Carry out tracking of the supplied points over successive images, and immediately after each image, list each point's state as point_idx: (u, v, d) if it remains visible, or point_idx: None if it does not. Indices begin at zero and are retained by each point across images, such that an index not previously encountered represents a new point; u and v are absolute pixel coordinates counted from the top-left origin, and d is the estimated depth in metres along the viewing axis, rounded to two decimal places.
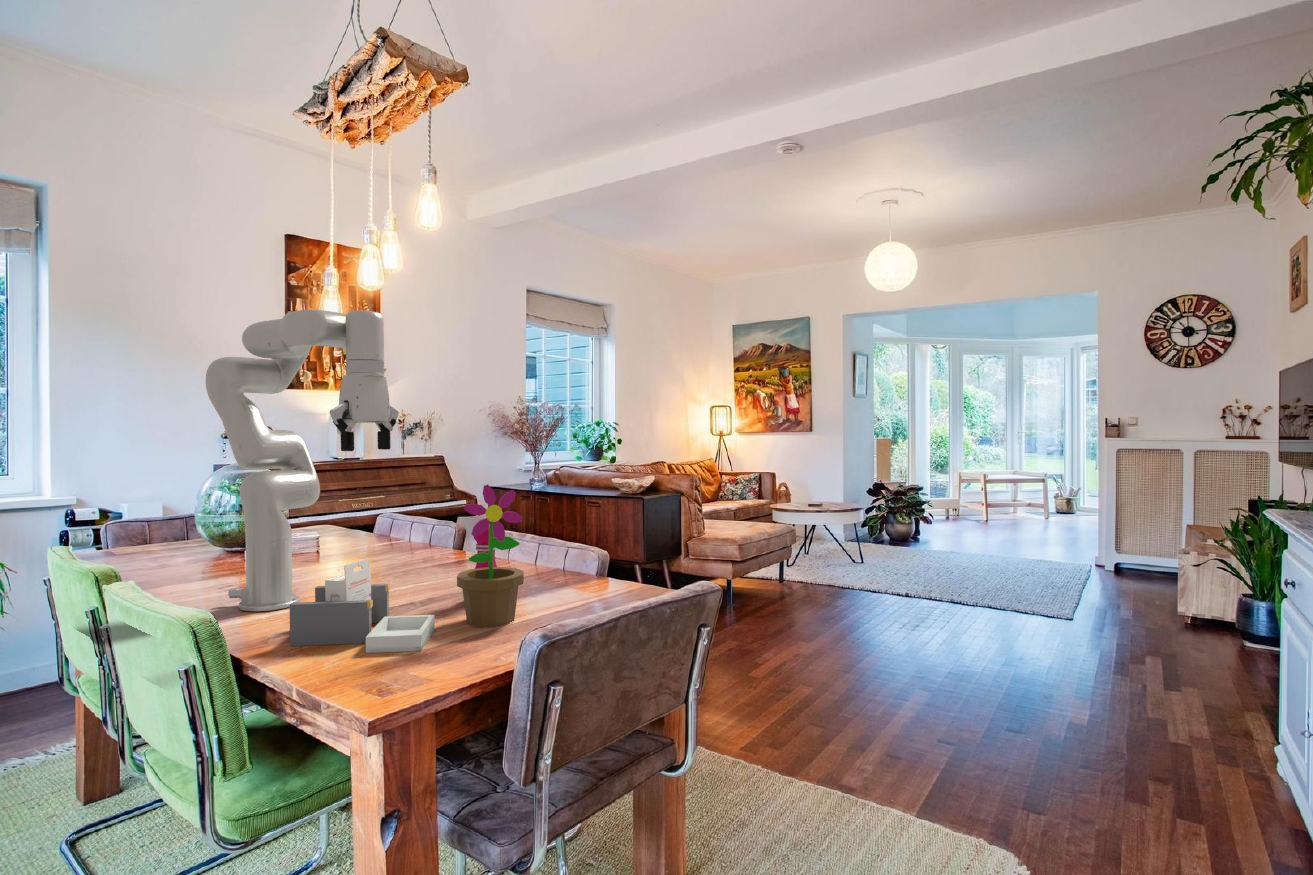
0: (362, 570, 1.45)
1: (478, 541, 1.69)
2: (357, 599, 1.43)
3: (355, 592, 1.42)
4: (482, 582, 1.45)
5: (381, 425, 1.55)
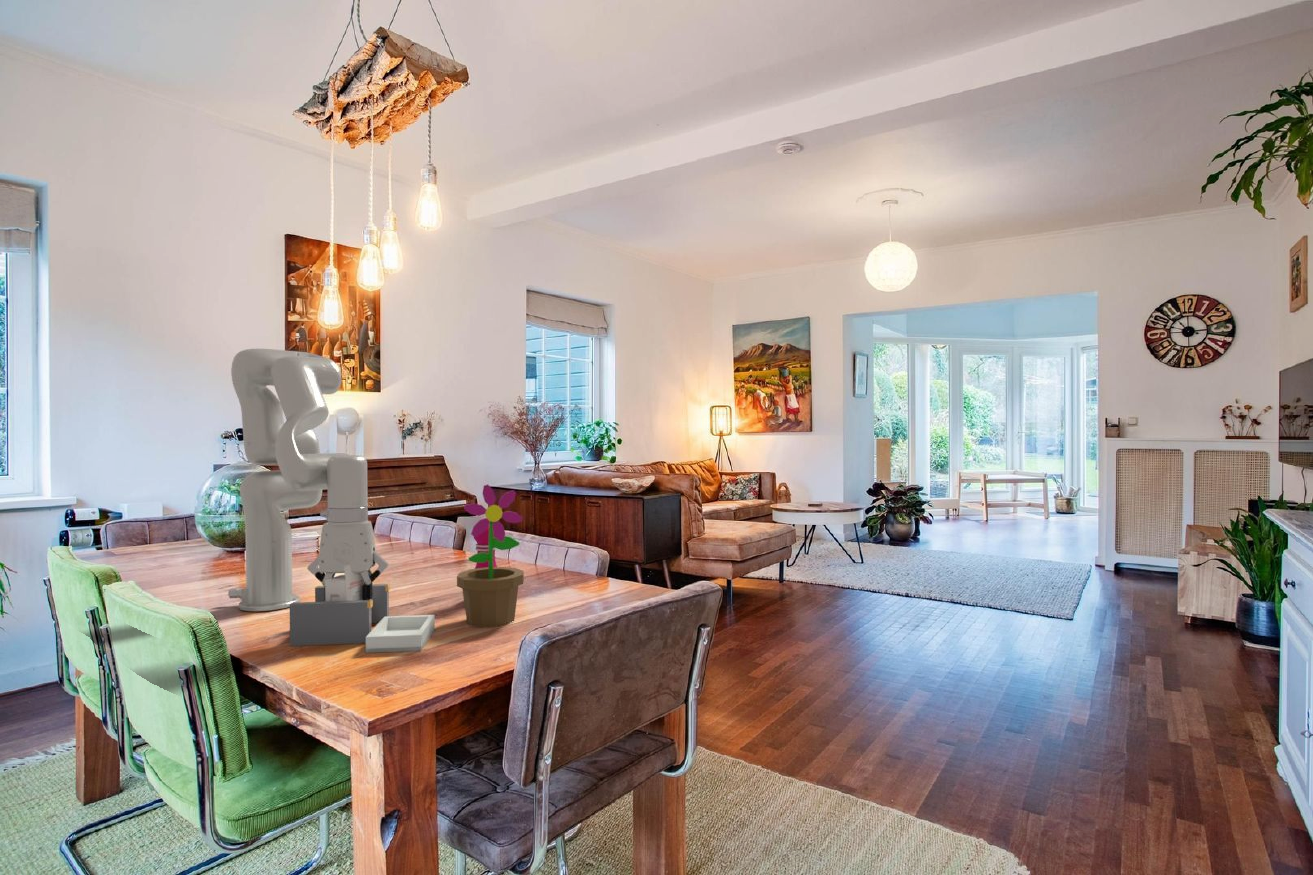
0: None
1: (478, 541, 1.69)
2: (357, 599, 1.43)
3: (355, 592, 1.42)
4: (482, 582, 1.45)
5: None
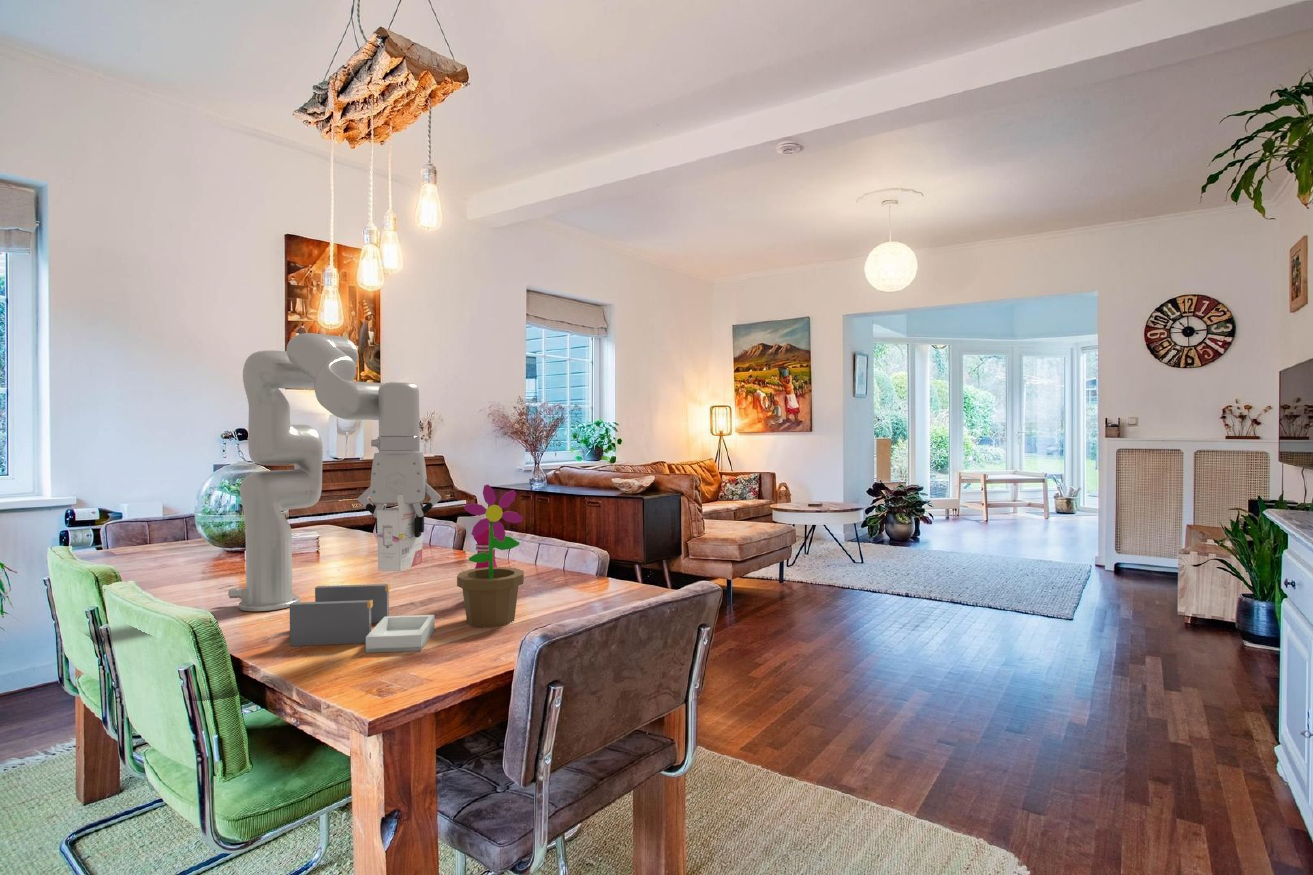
0: None
1: (478, 541, 1.69)
2: (409, 532, 1.37)
3: (407, 524, 1.36)
4: (482, 582, 1.45)
5: None
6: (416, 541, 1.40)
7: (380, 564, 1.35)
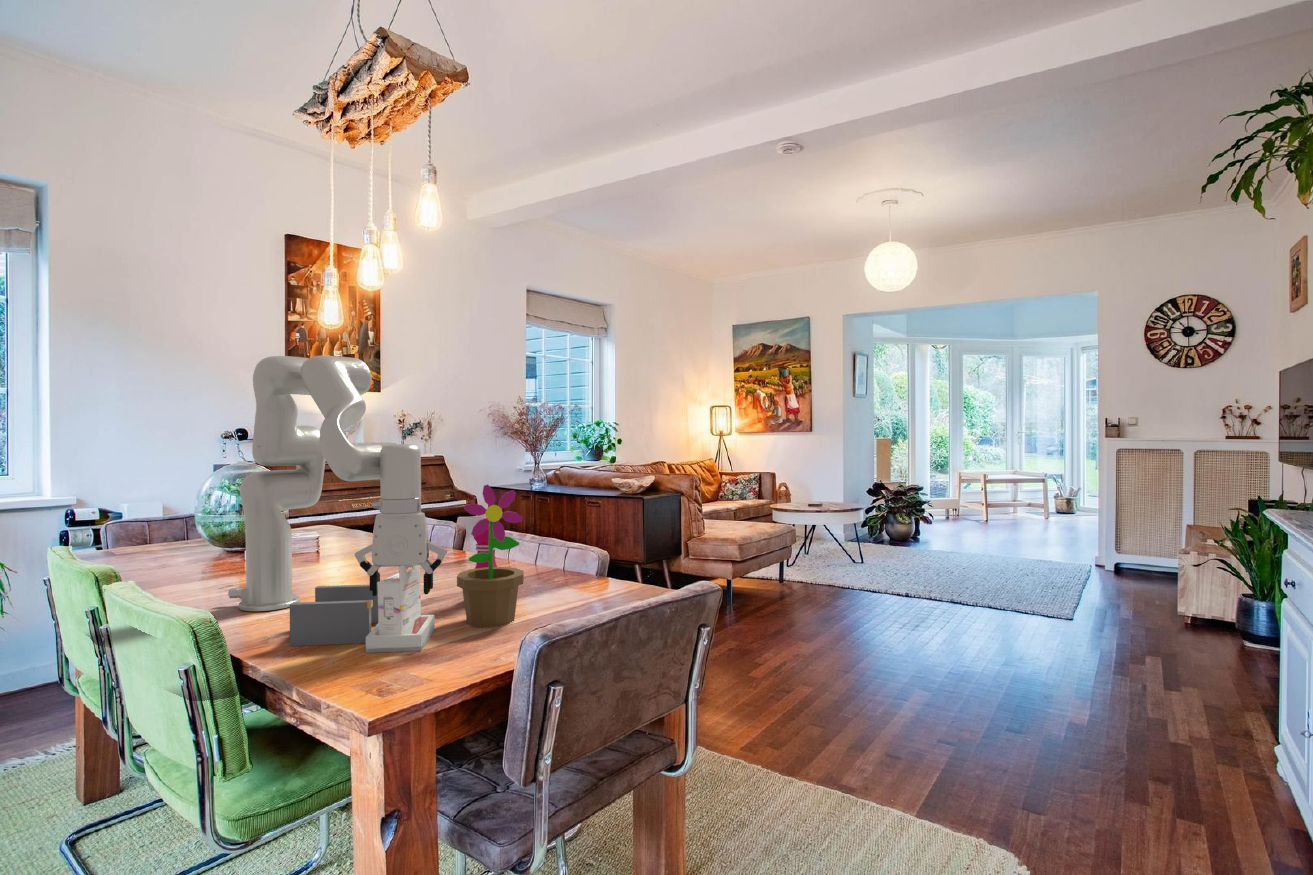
0: (413, 571, 1.40)
1: (478, 541, 1.69)
2: (409, 601, 1.38)
3: (408, 594, 1.37)
4: (482, 582, 1.45)
5: None
6: (415, 609, 1.40)
7: None
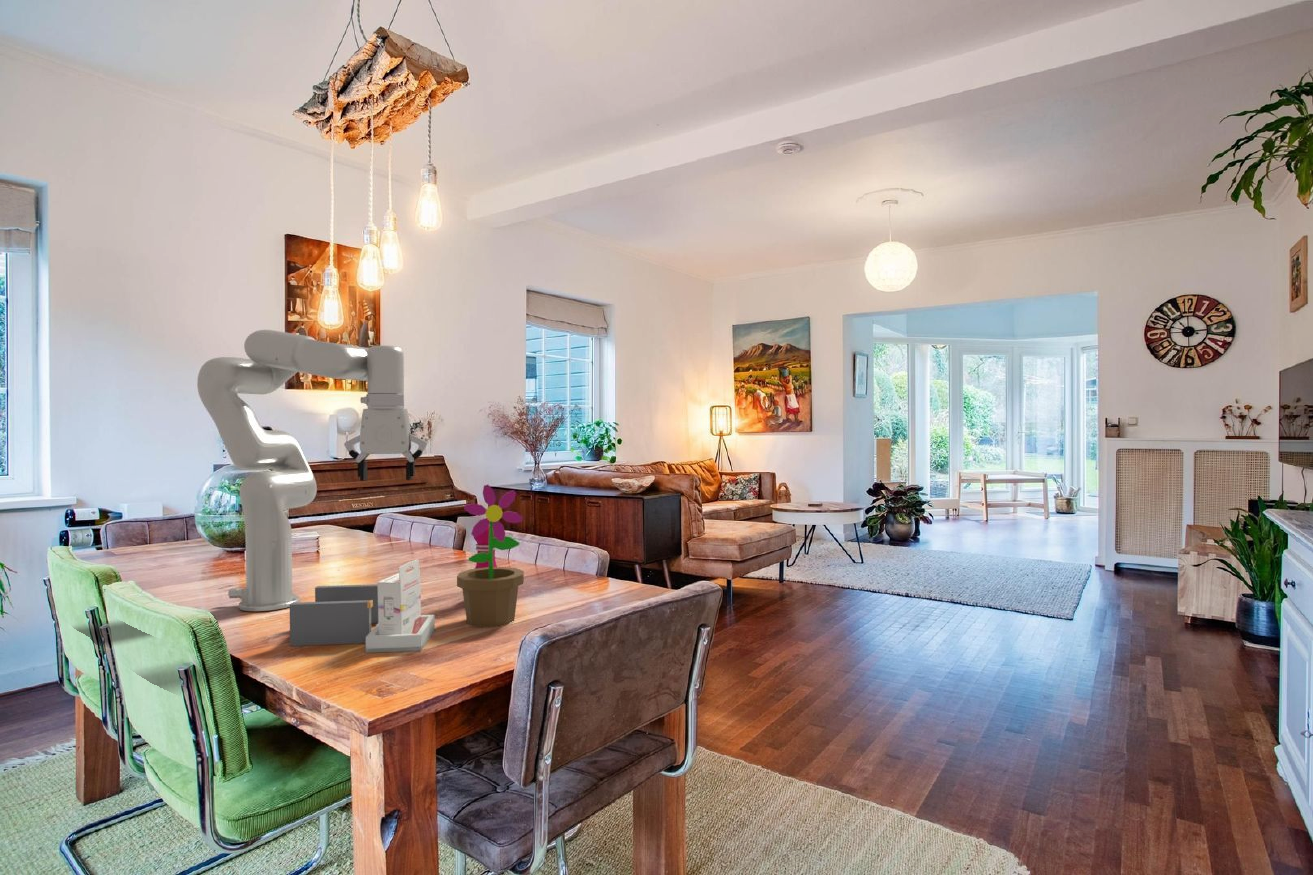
0: (413, 571, 1.40)
1: (478, 541, 1.69)
2: (409, 601, 1.38)
3: (408, 594, 1.37)
4: (482, 582, 1.45)
5: None
6: (415, 609, 1.40)
7: None
